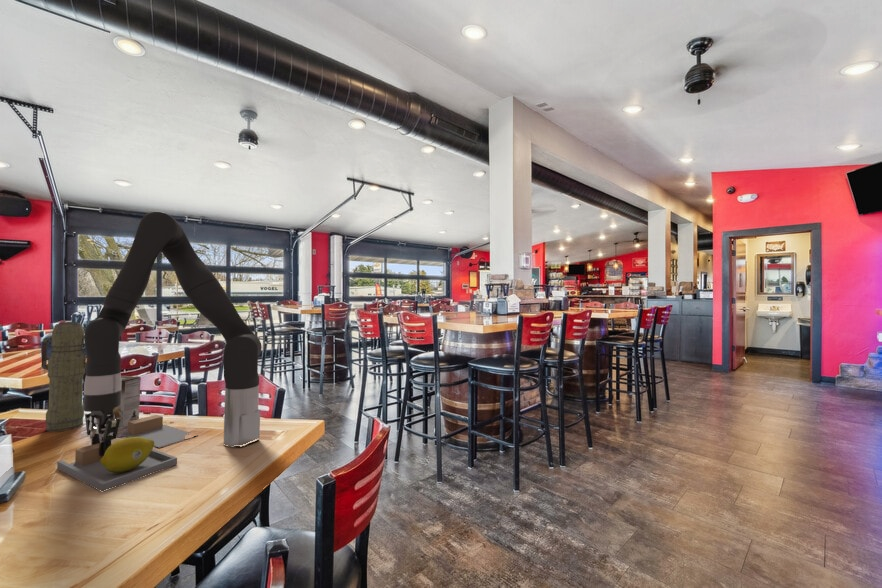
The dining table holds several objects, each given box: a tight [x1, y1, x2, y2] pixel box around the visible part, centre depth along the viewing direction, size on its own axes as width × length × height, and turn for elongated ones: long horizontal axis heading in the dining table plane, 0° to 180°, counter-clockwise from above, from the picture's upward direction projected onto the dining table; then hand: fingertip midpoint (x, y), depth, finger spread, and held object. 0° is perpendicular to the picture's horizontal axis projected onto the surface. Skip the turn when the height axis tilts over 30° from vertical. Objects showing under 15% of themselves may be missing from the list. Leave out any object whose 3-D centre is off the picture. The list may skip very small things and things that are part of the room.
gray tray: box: [56, 437, 178, 492], centre depth 94 cm, size 24×16×4 cm, turn 64°
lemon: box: [100, 437, 155, 473], centre depth 92 cm, size 11×8×8 cm
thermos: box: [41, 321, 87, 432], centre depth 121 cm, size 9×12×35 cm
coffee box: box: [113, 375, 141, 429], centre depth 124 cm, size 9×6×16 cm
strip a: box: [120, 414, 191, 449], centre depth 115 cm, size 22×11×4 cm, turn 64°
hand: (100, 452), depth 98 cm, fingers closed on gray tray, 4 cm apart
